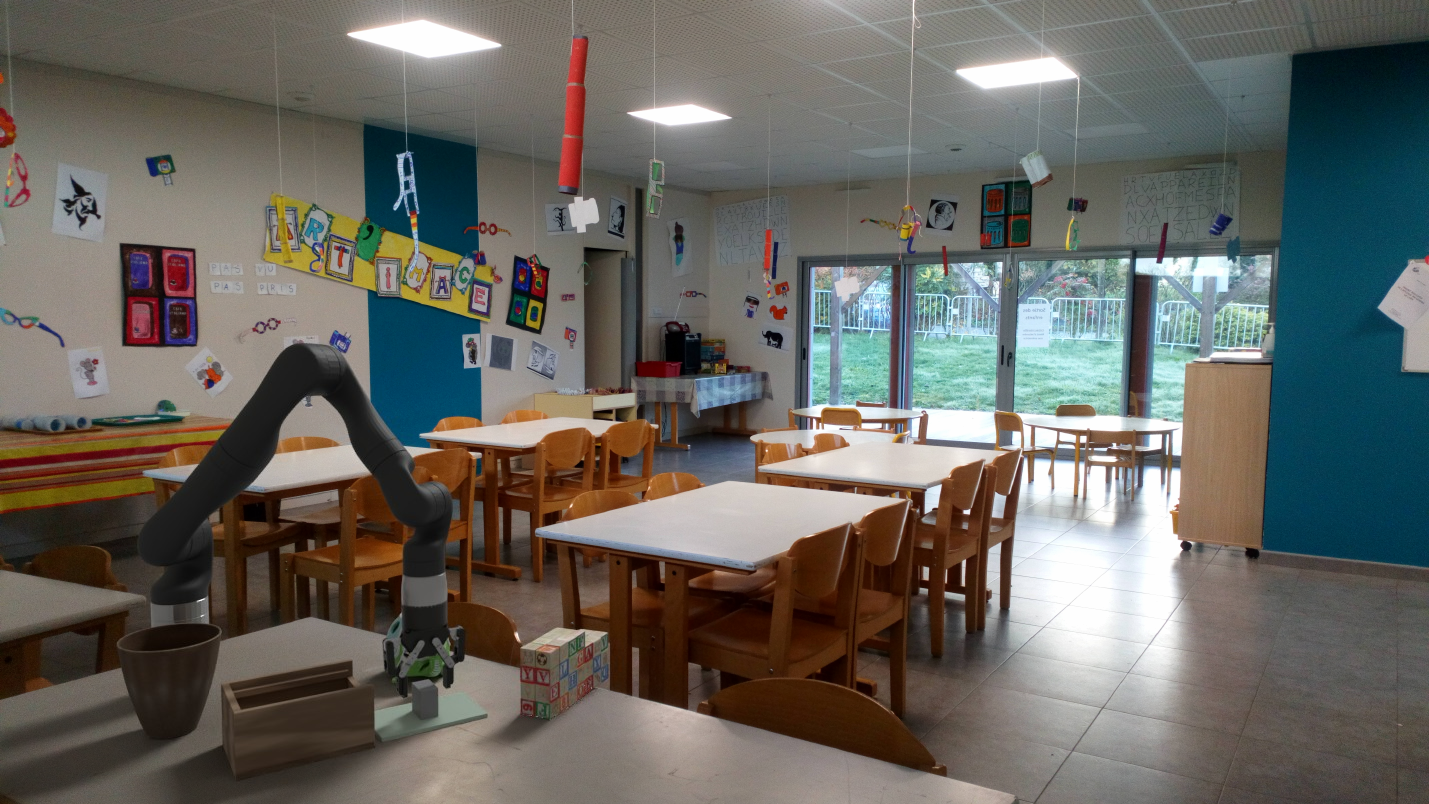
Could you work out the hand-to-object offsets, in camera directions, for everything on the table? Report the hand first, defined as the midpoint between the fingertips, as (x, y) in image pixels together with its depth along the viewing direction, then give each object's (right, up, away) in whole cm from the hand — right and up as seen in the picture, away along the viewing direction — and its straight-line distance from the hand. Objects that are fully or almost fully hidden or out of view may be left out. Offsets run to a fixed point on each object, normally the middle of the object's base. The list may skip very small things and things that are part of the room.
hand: (425, 691), depth 159 cm
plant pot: (-40, -5, -6) cm, 41 cm away
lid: (0, -5, 0) cm, 5 cm away
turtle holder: (-7, -3, +20) cm, 21 cm away
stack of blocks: (+23, -4, +11) cm, 26 cm away
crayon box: (-17, -5, -11) cm, 21 cm away
